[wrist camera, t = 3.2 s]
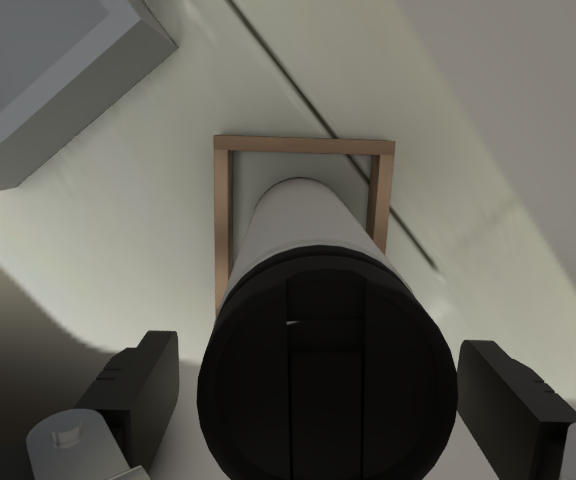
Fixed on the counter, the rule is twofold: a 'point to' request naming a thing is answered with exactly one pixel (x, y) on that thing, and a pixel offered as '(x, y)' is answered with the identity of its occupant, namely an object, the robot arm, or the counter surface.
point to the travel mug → (322, 353)
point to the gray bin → (67, 71)
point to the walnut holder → (226, 143)
